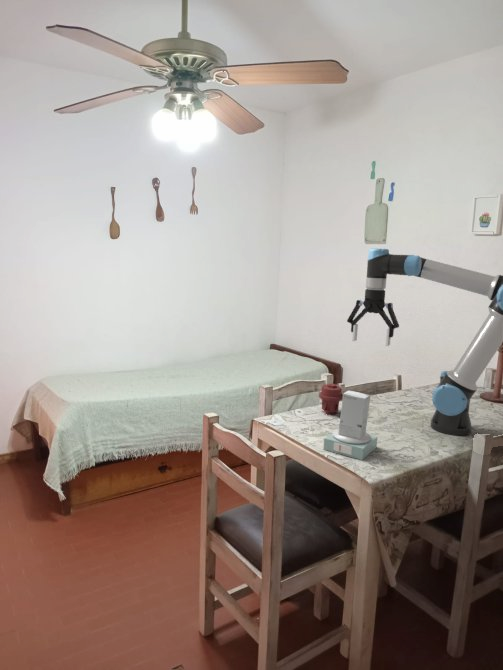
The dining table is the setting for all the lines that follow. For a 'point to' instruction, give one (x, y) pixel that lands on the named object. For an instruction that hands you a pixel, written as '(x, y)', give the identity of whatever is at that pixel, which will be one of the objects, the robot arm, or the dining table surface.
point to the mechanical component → (330, 398)
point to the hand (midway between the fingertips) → (370, 343)
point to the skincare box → (354, 414)
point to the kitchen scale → (350, 445)
